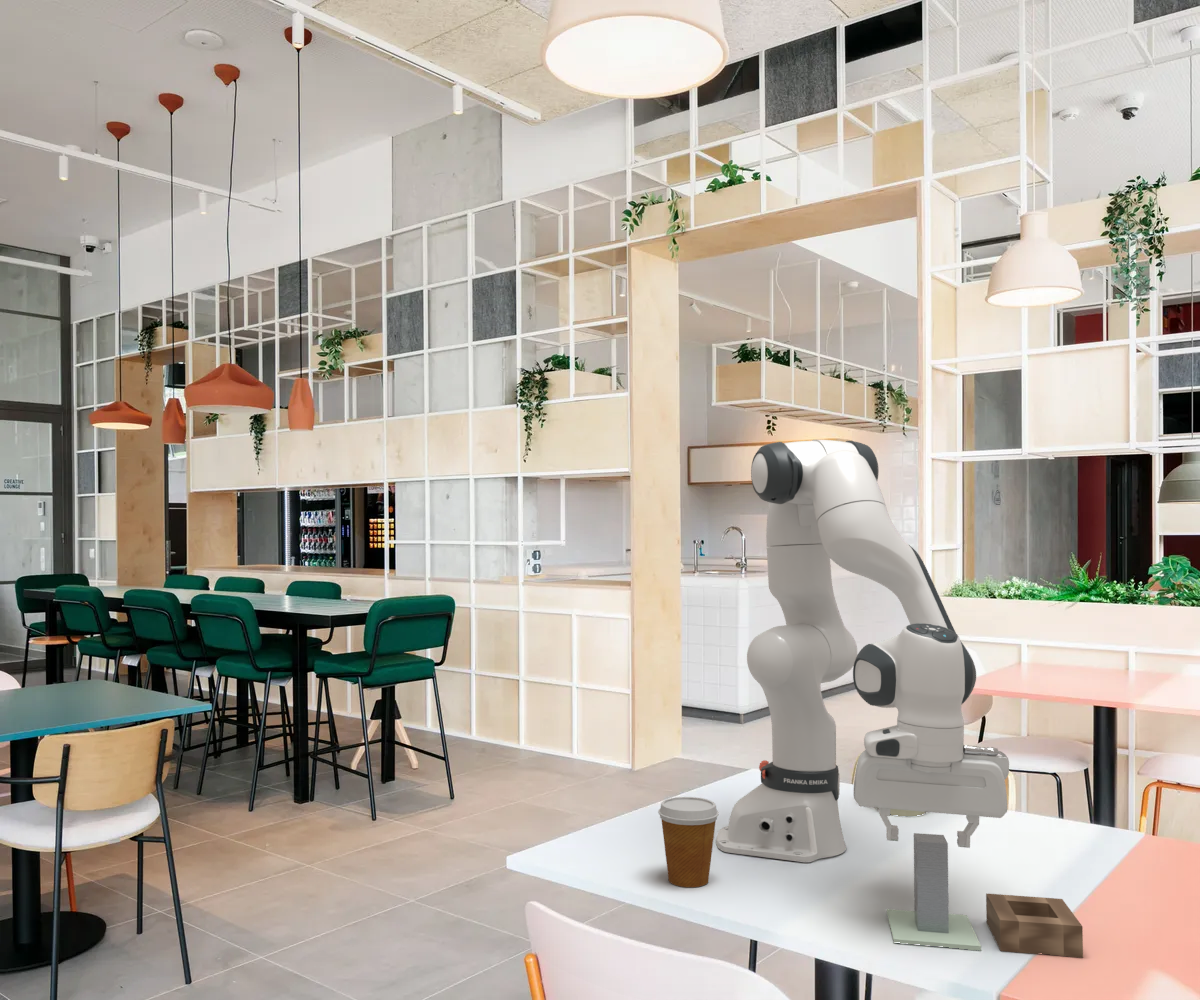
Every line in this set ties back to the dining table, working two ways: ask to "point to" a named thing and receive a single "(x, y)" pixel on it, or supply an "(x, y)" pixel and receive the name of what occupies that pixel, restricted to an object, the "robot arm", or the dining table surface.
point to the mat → (957, 937)
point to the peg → (931, 883)
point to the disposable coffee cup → (688, 839)
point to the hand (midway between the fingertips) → (927, 843)
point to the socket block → (1034, 925)
